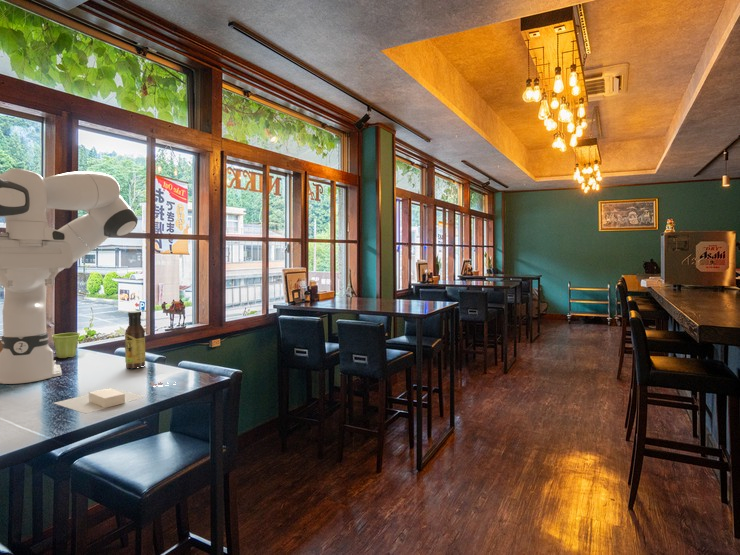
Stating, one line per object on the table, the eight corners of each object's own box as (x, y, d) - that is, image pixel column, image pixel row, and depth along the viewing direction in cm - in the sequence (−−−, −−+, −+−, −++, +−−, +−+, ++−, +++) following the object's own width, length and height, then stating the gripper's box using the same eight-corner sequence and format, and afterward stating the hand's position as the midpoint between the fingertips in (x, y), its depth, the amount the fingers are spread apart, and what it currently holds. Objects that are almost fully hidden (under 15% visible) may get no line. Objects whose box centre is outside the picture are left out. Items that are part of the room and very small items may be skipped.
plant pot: (85, 353, 186) (84, 332, 185) (72, 359, 176) (71, 336, 176) (61, 354, 185) (60, 332, 185) (46, 359, 176) (45, 336, 175)
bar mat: (53, 404, 121) (53, 402, 121) (113, 389, 135) (113, 388, 135) (85, 415, 113) (85, 413, 113) (146, 398, 127) (146, 396, 127)
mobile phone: (171, 372, 153) (178, 383, 140) (171, 375, 153) (178, 386, 140) (146, 375, 149) (151, 386, 136) (146, 378, 149) (151, 390, 136)
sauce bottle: (123, 367, 163) (122, 311, 162) (143, 364, 167) (141, 309, 166) (128, 370, 158) (126, 312, 157) (147, 367, 162) (146, 311, 161)
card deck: (88, 392, 122) (104, 398, 117) (108, 388, 126) (124, 393, 121) (89, 401, 122) (104, 408, 117) (108, 397, 126) (125, 403, 121)
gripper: (-17, 231, 109) (-15, 289, 110) (75, 234, 127) (76, 284, 128) (-28, 231, 113) (-26, 288, 113) (63, 235, 130) (64, 284, 131)
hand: (29, 286), depth 121 cm, fingers open, 8 cm apart
